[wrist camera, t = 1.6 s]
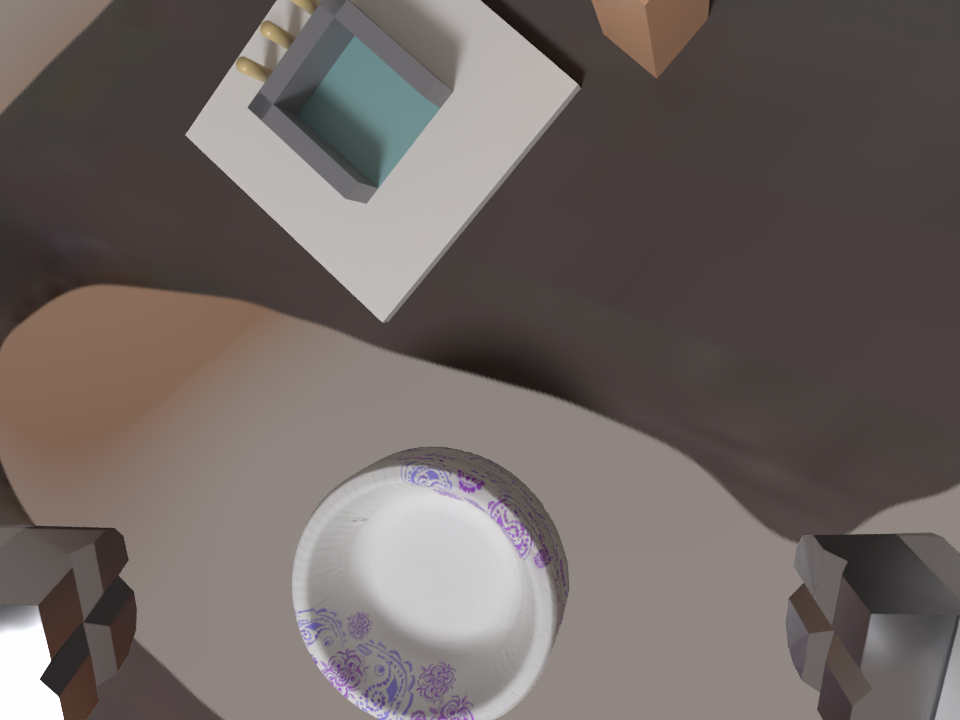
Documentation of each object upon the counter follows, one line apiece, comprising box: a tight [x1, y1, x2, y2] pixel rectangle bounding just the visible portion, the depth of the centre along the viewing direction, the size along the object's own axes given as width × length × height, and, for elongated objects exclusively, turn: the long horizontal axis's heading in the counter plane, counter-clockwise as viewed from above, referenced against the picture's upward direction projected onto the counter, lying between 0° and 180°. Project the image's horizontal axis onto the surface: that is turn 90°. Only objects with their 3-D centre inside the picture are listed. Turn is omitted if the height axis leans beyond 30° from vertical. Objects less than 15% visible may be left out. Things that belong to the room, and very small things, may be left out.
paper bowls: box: [292, 447, 569, 720], centre depth 45 cm, size 15×15×8 cm
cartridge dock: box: [186, 0, 581, 323], centre depth 45 cm, size 18×18×4 cm
